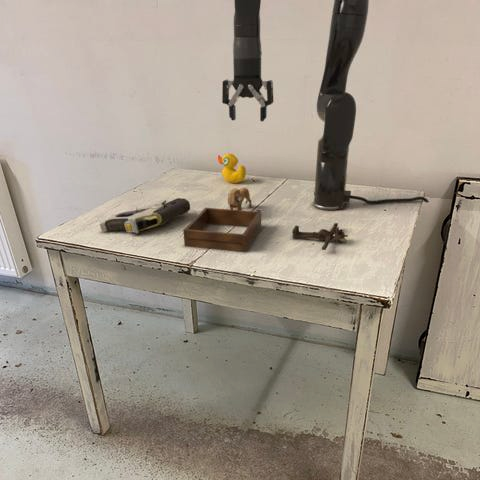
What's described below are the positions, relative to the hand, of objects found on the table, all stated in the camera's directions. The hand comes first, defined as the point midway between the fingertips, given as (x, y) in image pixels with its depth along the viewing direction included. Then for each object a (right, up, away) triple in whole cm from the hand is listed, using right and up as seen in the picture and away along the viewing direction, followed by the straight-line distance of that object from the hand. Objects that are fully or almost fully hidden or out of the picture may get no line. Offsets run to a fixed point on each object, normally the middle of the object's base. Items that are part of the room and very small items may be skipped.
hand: (247, 120), depth 138 cm
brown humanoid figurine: (+19, -36, -8) cm, 41 cm away
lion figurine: (-2, -24, +11) cm, 27 cm away
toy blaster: (-30, -29, +5) cm, 42 cm away
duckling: (-5, -7, +38) cm, 39 cm away
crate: (-7, -34, -4) cm, 35 cm away
